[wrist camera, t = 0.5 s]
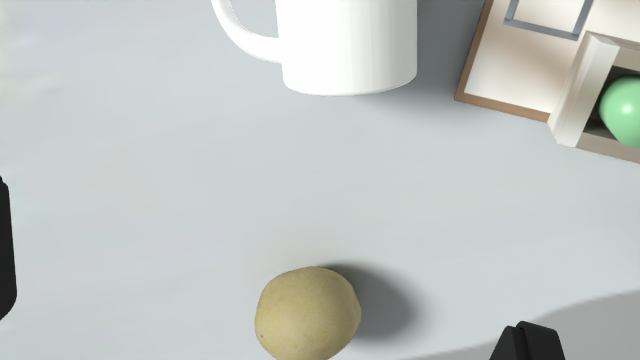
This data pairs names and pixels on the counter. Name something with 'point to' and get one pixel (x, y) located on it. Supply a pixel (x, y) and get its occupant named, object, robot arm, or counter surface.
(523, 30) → the cream tray
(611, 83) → the button
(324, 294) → the potato
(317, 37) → the mug
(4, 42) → the counter surface
